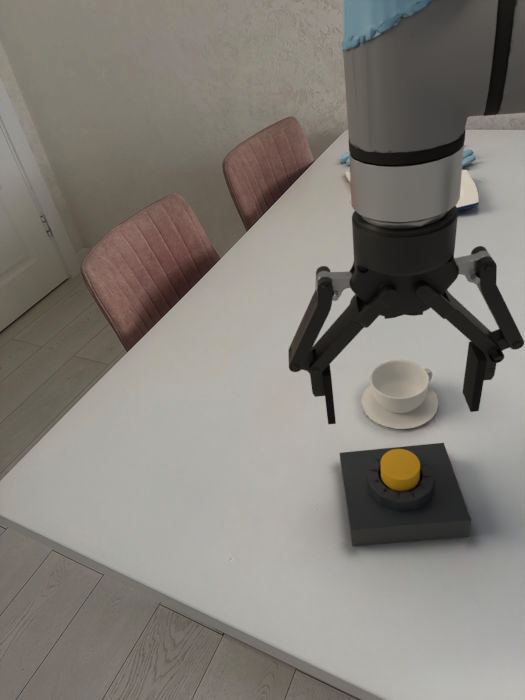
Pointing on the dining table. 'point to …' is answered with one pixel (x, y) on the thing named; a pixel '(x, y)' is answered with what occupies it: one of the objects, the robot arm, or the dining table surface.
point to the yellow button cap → (400, 469)
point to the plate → (467, 192)
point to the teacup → (400, 395)
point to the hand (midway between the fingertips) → (399, 408)
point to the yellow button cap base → (403, 499)
